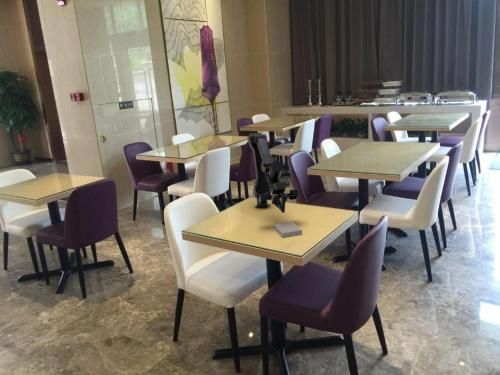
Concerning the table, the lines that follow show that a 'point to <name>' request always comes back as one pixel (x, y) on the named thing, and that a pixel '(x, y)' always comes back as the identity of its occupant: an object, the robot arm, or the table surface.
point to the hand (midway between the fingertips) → (283, 212)
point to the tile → (287, 229)
